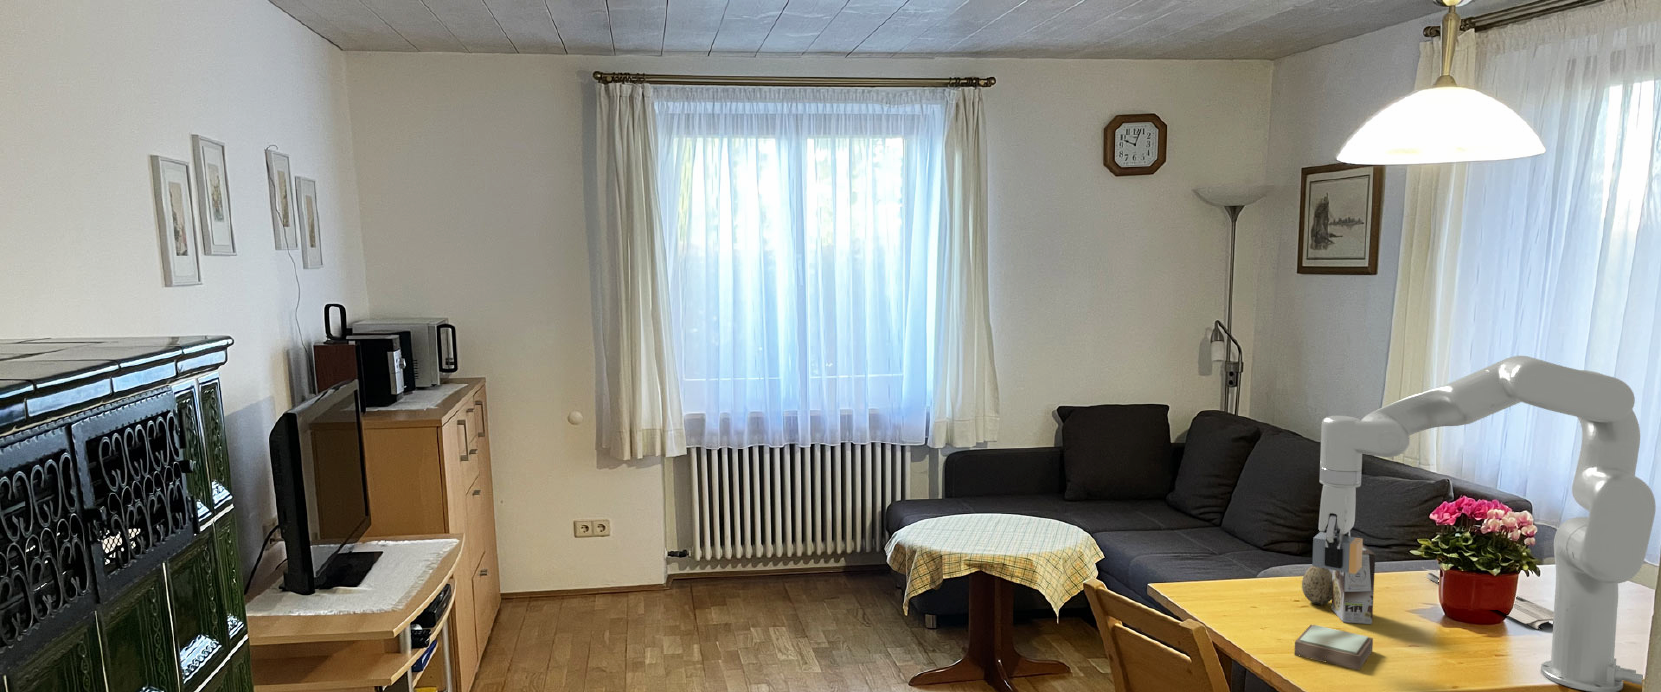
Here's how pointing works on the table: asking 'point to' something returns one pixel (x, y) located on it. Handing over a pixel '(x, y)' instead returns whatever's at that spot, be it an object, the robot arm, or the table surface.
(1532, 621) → the newspaper
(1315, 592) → the decorative egg
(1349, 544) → the block
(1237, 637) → the table surface
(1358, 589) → the coffee box
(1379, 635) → the table surface
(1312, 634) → the stand
